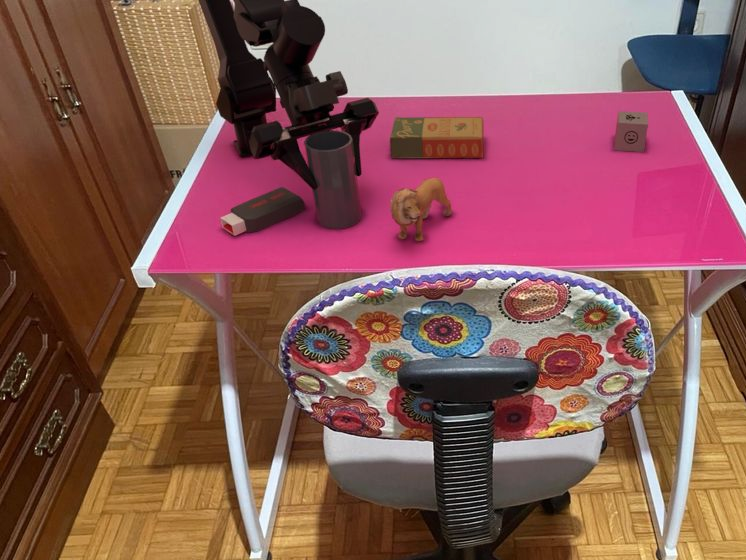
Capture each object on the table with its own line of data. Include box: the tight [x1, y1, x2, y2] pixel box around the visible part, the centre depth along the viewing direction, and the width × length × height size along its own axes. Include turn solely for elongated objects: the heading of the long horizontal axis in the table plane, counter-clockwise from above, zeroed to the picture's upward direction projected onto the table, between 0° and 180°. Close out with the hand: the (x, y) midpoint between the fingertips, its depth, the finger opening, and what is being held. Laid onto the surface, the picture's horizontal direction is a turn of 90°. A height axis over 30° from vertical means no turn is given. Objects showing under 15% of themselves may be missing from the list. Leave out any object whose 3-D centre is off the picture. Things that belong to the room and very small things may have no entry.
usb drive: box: [219, 186, 306, 237], centre depth 109 cm, size 5×12×3 cm, turn 136°
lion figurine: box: [390, 177, 452, 242], centre depth 105 cm, size 15×5×9 cm, turn 159°
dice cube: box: [614, 110, 649, 153], centre depth 127 cm, size 5×5×5 cm
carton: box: [389, 116, 484, 159], centre depth 126 cm, size 8×16×4 cm, turn 88°
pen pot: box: [303, 129, 363, 230], centre depth 106 cm, size 7×7×12 cm
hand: (337, 182), depth 105 cm, fingers closed on pen pot, 7 cm apart
